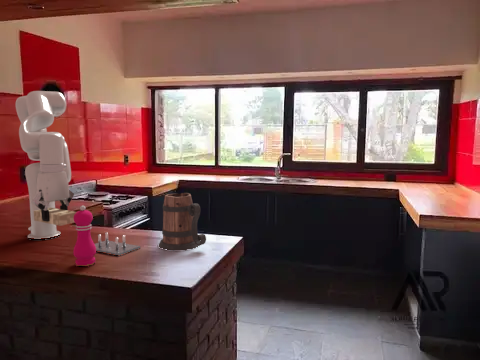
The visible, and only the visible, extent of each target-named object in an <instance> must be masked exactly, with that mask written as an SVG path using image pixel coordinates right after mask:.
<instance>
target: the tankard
mask: <svg viewBox="0 0 480 360" xmlns="http://www.w3.org/2000/svg"><path fill="white" fill-rule="evenodd" d="M200 216H201V206H200V204H199V203H193V199H192V195H191V193H189V192H181V193H168V194H165V195H164V199H163V204H162V222H163V223H162V232H161V233H162V238H161V240H160V241H159V243H158V244H159V247H160V248H163V249H167V250H185V251H188V250H187V249H191V250H194V249H197V248H199V247H200V246H202V245H205V244H206V242H207V236H206V234H204V233H200V234H199V233H198V221H199V219H200ZM198 246H199V247H198ZM196 247H197V248H196ZM160 248H159V249H160ZM193 248H194V249H193ZM167 250H166V251H167Z"/></svg>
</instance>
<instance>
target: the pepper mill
mask: <svg viewBox="0 0 480 360" xmlns="http://www.w3.org/2000/svg"><path fill="white" fill-rule="evenodd" d="M75 212H76V213H75V214H74V217H73V219H74V222H73V223H74V224H76V225H75V231H76V232H77V238H76V241H75V243H74V246H73V250H72V251H73V253H72V254H73V256H74V257H75V258H76V259H75V261H74V262H75V263H76V264H77V265H87V264H92V263H94V262H95V263H96V257H95V255H96V254H97V252H96V247H95V244H96V243H94V241H93V239H92V236H91V229H93V228H92V226H93V225H92V224H91V223H92V221H93V220H94V218H93V217H94V216H93V213H92V212H91V211H90V210H88V209H86V206H85V205H81V206H80V207H79V210H78V211H75ZM76 264H75V265H76Z"/></svg>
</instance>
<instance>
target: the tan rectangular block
mask: <svg viewBox="0 0 480 360" xmlns="http://www.w3.org/2000/svg"><path fill="white" fill-rule="evenodd" d="M47 210H49V219H50V221H48V222H47V221H43V220H42V215H41V210H36V211H34V221H39V222H44V223H49V224H54V225H56V226H65V225H69V224H72V223H75V222H74V219H73V217H74V214H75V213H76V212H77V211H73V210H68V211H67V210H61V209H60V208H56V207H55V208H48V209H47Z"/></svg>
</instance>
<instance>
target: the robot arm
mask: <svg viewBox="0 0 480 360" xmlns="http://www.w3.org/2000/svg"><path fill="white" fill-rule="evenodd" d="M66 110H67V100H66V98H65V96H64V94H63V93H62V92H59V91H50V90H49V91H48V90H47V91H45V90H33V91H30V92H28V93H27V95H23V96H19V97H17V98H16V101H15V111H16V113H17V117H18V119H19V121H20V125H19V129H18V137H19V142H20V146H21V149H22V150H23V151H24V152H25V153H27V156H28V159H29V160H31V161H39V162H34V163H30V164H29V165H27V166H26V167H25V169H24V170H25V171H24V175H25V178H26V183H27V188H28V189H27V190H28V195H29V196H28V198H29V210H30V211H29V212H30V213H29V214H30V223H31V224H30V225H31V226H29V227H28V231H30V233H29V234H28V235H27V239H28V238H34V239H41V238H50V237H54V236H58V235H60V234H61V231H59V230H57V225H54V224H49V223H44V222H39V221H34V211H36V210H41V215H42V220H43V221H47V222H48V221H50V219H49V210H47V209H48V208H56V202H59V203H60V204H61V205H60V206H59V209H61V210H67V211H69V210H68V206H70V203H71V201H72V199H73V198H74V196H75V193H74V192H73V191H72V190H71V189H70V188H69V187H70V186H69V183H70V182H71V180H72V168H71V167H72V166H71V161H70V153H69V149H68V148H69V147H68V144H67V142H66V141H65V140H66V139H65V136H63V135H62V133H60V132H58V131H48V129H47V128H49V127H50V126H52V125H53V123H54V121H55V117H60V116H61V115H63V114H64V113H65V112H66ZM60 236H61V235H60ZM58 237H59V236H58Z"/></svg>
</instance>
